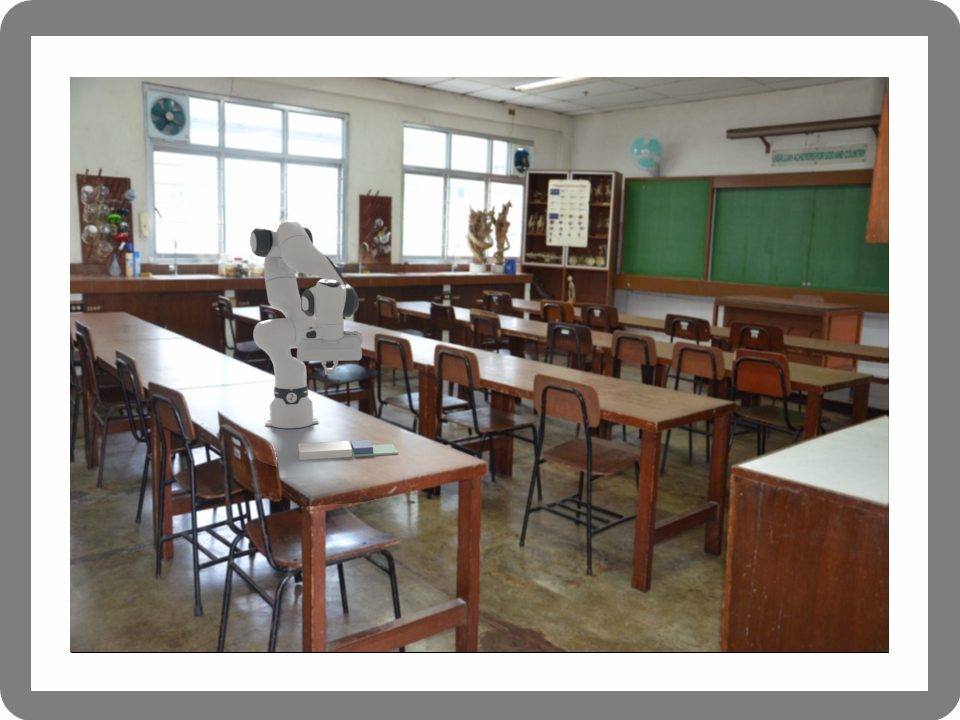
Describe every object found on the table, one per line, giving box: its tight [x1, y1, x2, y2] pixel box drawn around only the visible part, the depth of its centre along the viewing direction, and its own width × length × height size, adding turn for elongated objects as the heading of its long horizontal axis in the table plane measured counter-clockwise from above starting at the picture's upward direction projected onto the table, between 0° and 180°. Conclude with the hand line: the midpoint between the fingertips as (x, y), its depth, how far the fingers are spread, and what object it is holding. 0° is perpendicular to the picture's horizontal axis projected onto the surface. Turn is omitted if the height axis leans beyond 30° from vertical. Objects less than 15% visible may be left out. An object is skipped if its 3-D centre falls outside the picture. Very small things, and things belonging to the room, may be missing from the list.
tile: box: [350, 439, 373, 454], centre depth 252 cm, size 9×6×2 cm, turn 15°
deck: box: [297, 440, 353, 461], centre depth 249 cm, size 10×16×2 cm, turn 105°
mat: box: [352, 443, 399, 458], centre depth 253 cm, size 10×14×1 cm
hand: (329, 374), depth 251 cm, fingers closed
